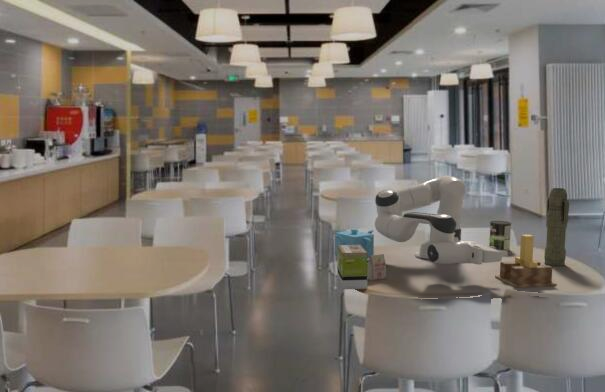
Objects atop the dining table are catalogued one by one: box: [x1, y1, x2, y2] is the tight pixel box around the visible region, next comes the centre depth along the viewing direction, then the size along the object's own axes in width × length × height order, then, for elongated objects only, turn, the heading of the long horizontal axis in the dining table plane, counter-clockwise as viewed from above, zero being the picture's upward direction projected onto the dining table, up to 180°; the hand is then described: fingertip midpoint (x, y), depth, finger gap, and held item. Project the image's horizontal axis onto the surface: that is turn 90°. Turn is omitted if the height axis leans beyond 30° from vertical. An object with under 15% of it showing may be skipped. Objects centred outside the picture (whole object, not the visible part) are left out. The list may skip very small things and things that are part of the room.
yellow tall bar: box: [514, 234, 538, 268], centre depth 247 cm, size 4×11×17 cm, turn 10°
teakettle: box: [333, 228, 375, 259], centre depth 285 cm, size 19×19×15 cm
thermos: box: [543, 187, 570, 267], centre depth 277 cm, size 9×12×35 cm
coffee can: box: [488, 220, 512, 252], centre depth 312 cm, size 10×10×14 cm
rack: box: [494, 260, 558, 288], centre depth 248 cm, size 18×16×7 cm
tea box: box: [336, 245, 368, 290], centre depth 241 cm, size 15×10×15 cm, turn 5°
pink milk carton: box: [367, 253, 387, 281], centre depth 251 cm, size 4×7×10 cm, turn 118°
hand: (500, 251), depth 244 cm, fingers open, 8 cm apart
